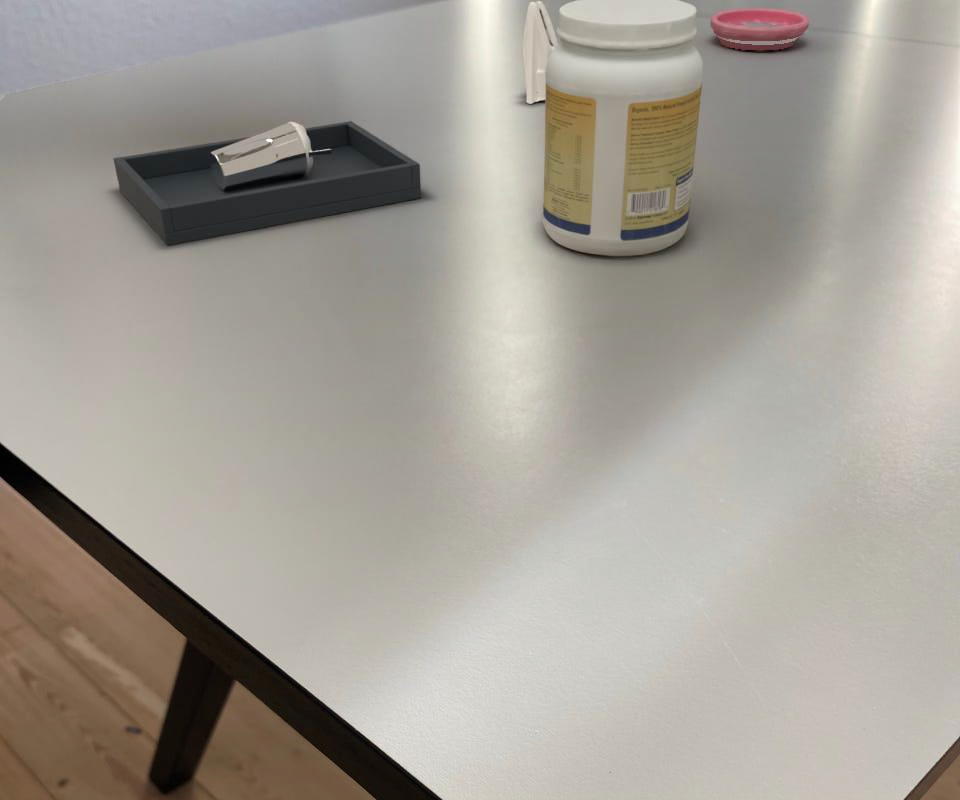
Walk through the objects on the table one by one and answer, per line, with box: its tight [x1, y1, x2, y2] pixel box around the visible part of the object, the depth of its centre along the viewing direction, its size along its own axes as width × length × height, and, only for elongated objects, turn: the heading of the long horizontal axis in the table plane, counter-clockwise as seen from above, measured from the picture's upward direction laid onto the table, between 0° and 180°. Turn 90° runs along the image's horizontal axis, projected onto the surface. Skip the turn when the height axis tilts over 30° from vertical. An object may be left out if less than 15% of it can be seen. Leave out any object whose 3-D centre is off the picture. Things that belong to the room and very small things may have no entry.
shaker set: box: [522, 0, 559, 105], centre depth 125 cm, size 12×4×11 cm, turn 108°
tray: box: [112, 120, 422, 246], centre depth 102 cm, size 24×16×3 cm, turn 118°
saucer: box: [710, 8, 810, 51], centre depth 145 cm, size 12×12×3 cm
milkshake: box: [209, 121, 332, 190], centre depth 101 cm, size 4×5×10 cm
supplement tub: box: [542, 0, 704, 257], centre depth 89 cm, size 12×12×17 cm
